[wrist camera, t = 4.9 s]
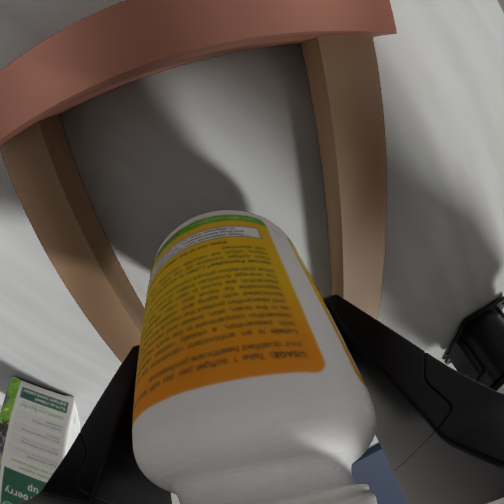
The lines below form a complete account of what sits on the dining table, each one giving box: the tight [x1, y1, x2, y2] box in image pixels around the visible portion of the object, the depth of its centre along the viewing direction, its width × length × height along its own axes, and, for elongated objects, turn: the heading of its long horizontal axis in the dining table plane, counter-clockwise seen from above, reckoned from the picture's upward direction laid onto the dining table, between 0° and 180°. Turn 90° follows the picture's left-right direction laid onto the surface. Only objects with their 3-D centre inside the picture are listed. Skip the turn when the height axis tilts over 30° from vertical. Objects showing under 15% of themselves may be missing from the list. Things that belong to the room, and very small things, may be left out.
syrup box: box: [0, 377, 80, 504], centre depth 11 cm, size 6×6×14 cm
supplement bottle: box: [132, 210, 377, 504], centre depth 7 cm, size 5×5×10 cm
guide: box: [0, 0, 397, 363], centre depth 12 cm, size 13×23×3 cm, turn 12°
